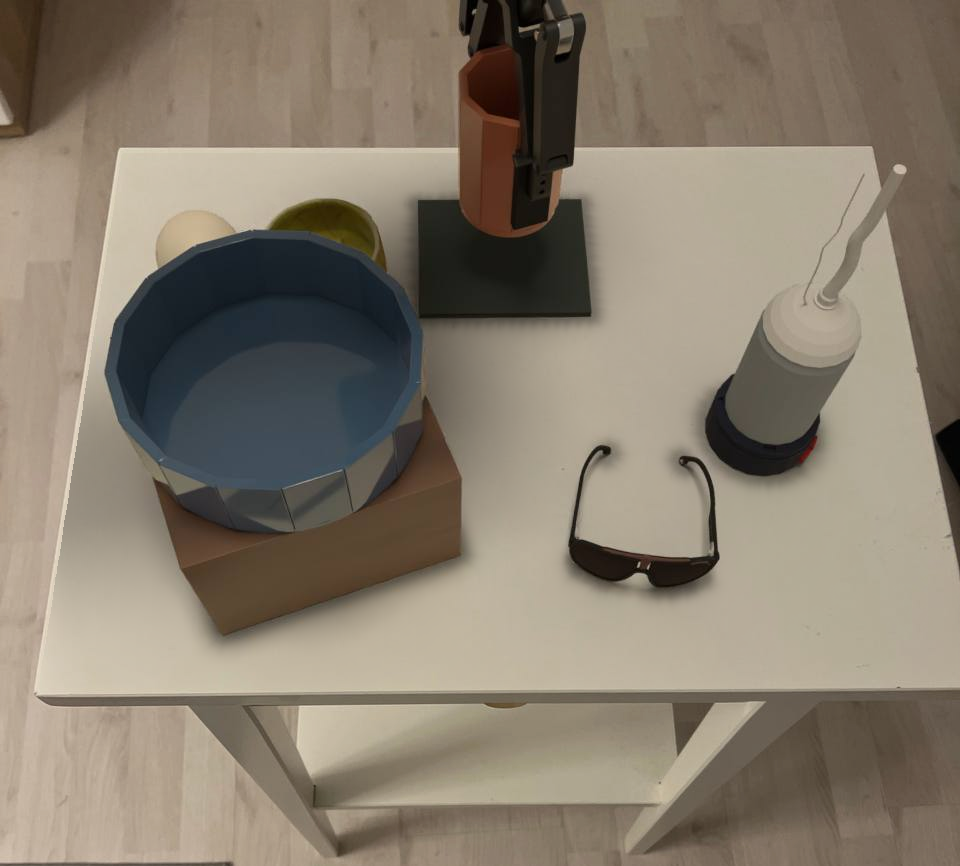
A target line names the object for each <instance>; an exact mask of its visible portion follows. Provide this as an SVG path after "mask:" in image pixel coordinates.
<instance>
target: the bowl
mask: <svg viewBox="0 0 960 866" xmlns="http://www.w3.org/2000/svg"><path fill="white" fill-rule="evenodd" d="M236 233H237V234H233V235H230V236H226V237H222V238H219V239H215V240H211V241H207V242H204V243H200V244H196V245H195V246H192V247H191V248H189V249H188V250H186V251H185V252H183V253H182V254H180V255H179V256H177V257H176V258H174V259H173V260H171V261H170V262H168V263H167V264H165V265H164V266H162V267H161V268H159V269H158V268H157V269H155V271H153V272H151V273H149V274H148V275H147V276H146V277H145V278H144V279H143V281H142V282H141V283H140V285H139V286H138V287H137V289H136V290H135V292H134V293H133V295H132V296H131V297H130V299H129V300H128V302H127V303H126V304H125V305H124V307H123V308H122V310H121V311H120V312H119V313H118V314H117V317H116V318H115V319H114V322H113V325H112V331H111V334H110V337H111V340H109V346H108V350H107V357H106V360H105V365H104V370H103V373H104V377H105V381H106V385H107V388H108V392H109V395H110V398H111V401H112V404H113V407H114V408H113V409H114V412H115V414H116V418H117V421H118V422H117V423H119V425H120V427H121V429H122V430H123V432H124V434H125V436H126V437H127V439H128V441H129V443H130V444H131V446H132V448H133V449H134V451H135V453H136V455H137V456H138V459H139V460H140V462H141V463H142V465H143V467H144V469H145V470H146V471H147V472H148V473H149V475H150V476H151V477H152V476H153V477H154V478H155V479H156V481H157V482H158V483H159V484H160V485H161V487H162V488H163V489H164V490H165V491H166V492H167V493H168V494H169V495H170V496H171V497H172V498H173V499H174V500H175V501H176V502H177V503H178V504H179V505H180V506H182V507H183V508H186V509H188V510H189V511H191V512H192V513H194V514H196V515H198V516H200V517H202V518H204V519H206V520H208V521H210V522H213V523H216V524H219V525H222V526H225V527H228V528H232V529H237V530H242V531H246V532H256V533H289V532H296V531H303V530H309V529H312V528H316V527H320V526H324V525H327V524H329V523H332V522H335V521H337V520H340V519H342V518H345V517H346V516H348V515H350V514H352V513H354V512H356V511H358V510H360V509H361V508H363V507H364V506H366V505H367V504H368V503H370V502H371V501H373V500H374V499H376V498H377V497H378V496H379V495H380V494H381V493H382V492H383V491H385V490H386V489H387V488H388V487H389V486H390V485H391V484H392V483H393V481H394V480H395V479H396V478H397V477H398V476H399V474H400V473H401V472H402V471H403V469H404V467H405V466H406V464H407V463H408V461H409V460H410V458H411V456H412V454H413V452H414V450H415V447H416V445H417V443H418V440H419V438H420V436H421V434H422V432H423V427H424V412H425V394H426V385H427V383H426V382H427V381H426V380H427V379H426V361H425V360H426V358H425V357H426V356H425V337H424V336H425V335H424V331H423V329H422V326H421V324H420V322H419V319H418V317H417V315H416V312H415V310H414V309H413V306H412V304H411V302H410V299H409V296H408V294H407V292H406V291H405V288H404V286H403V285H402V284H401V283H400V282H398V280H396V279H395V277H393V276H392V275H391V274H389V272H388V271H387V272H386V271H385V270H384V269H383V268H381V267H380V266H379V265H378V264H377V263H376V262H375V261H374V260H372V259H371V258H370V257H369V256H368V255H367V254H366V253H364V252H362V251H361V250H358V249H355V248H353V247H350V246H347V245H345V244H342V243H339V242H337V241H334V240H331V239H329V238H326V237H323V236H321V235H318V234H315V233H313V232H311V233H310V232H308V231H281V230H265V229H256V228H255V229H248V230H244V231H241V232H236Z"/></svg>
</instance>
